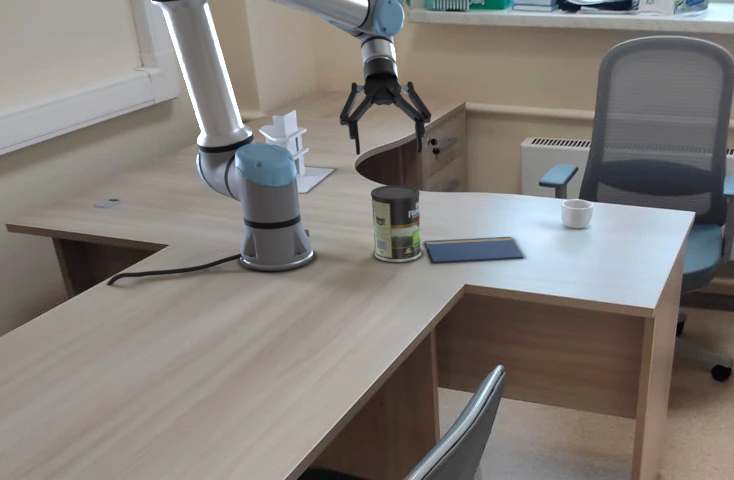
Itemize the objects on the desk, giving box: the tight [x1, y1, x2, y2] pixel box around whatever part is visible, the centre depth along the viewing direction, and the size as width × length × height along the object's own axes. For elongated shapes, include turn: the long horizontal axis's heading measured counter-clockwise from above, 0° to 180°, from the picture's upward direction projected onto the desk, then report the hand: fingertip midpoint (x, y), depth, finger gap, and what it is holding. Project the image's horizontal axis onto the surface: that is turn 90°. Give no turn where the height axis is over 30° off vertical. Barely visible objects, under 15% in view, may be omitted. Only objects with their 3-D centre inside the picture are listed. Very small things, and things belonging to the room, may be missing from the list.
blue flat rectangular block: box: [425, 236, 524, 264], centre depth 189 cm, size 20×13×1 cm, turn 102°
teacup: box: [560, 198, 594, 230], centre depth 205 cm, size 10×8×5 cm
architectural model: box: [258, 109, 336, 194], centre depth 231 cm, size 23×24×18 cm
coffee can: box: [370, 184, 422, 263], centre depth 183 cm, size 10×10×14 cm
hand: (389, 150), depth 186 cm, fingers open, 13 cm apart
